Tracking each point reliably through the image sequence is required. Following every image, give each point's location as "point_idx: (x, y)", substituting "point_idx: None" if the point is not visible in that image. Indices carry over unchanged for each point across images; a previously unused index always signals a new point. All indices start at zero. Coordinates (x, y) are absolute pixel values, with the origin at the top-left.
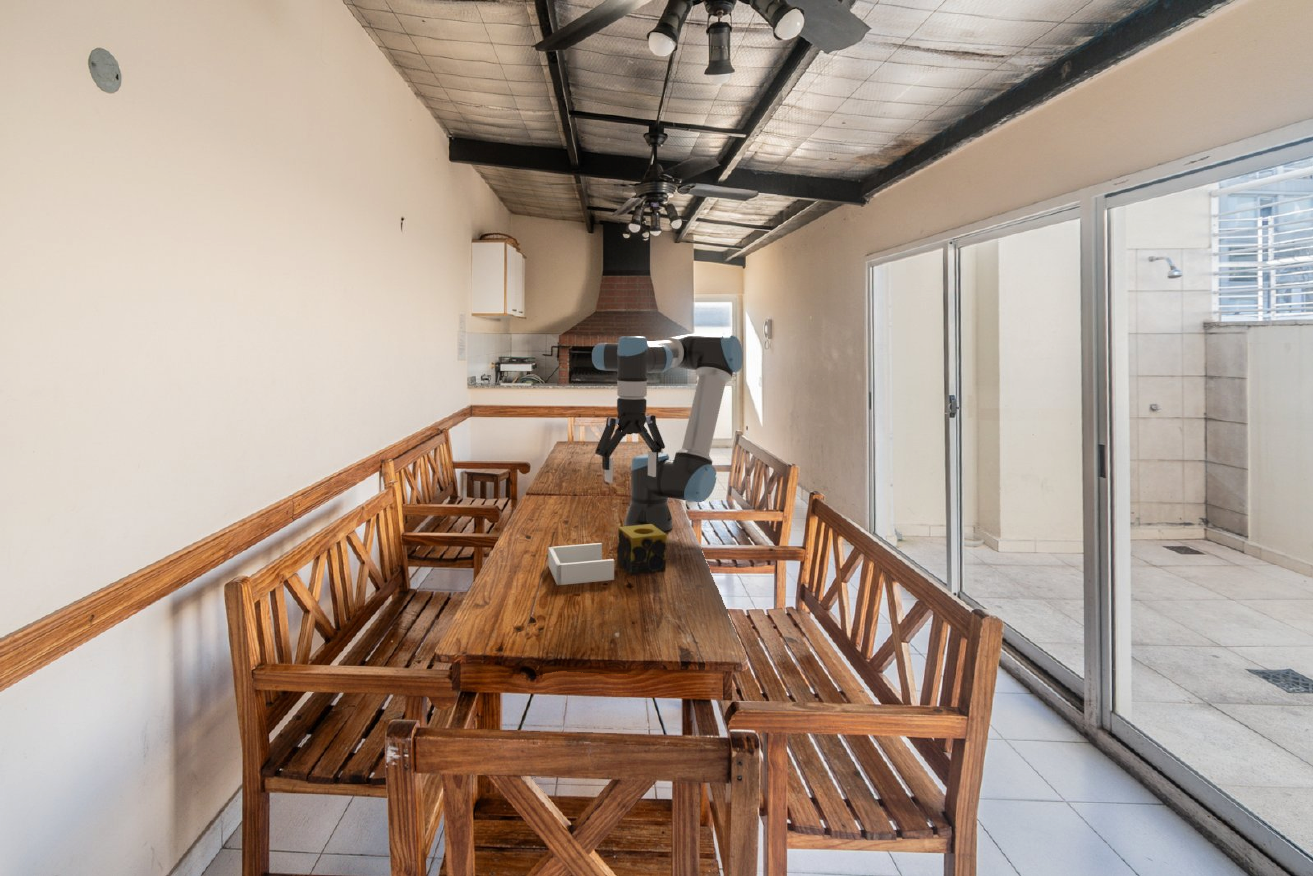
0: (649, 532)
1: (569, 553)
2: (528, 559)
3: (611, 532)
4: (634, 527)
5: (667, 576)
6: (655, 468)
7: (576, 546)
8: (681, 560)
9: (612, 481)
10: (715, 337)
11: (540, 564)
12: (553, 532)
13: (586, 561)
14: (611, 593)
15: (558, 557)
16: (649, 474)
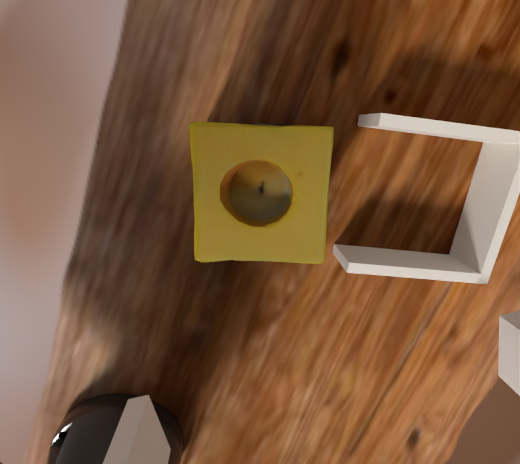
0: (229, 203)
1: (427, 262)
2: (474, 313)
3: (228, 424)
4: (272, 242)
5: (216, 82)
6: (111, 457)
7: (418, 268)
8: (129, 186)
9: (510, 321)
10: None
11: None
12: (352, 453)
13: (456, 134)
14: (406, 23)
15: (448, 261)
16: (162, 442)
